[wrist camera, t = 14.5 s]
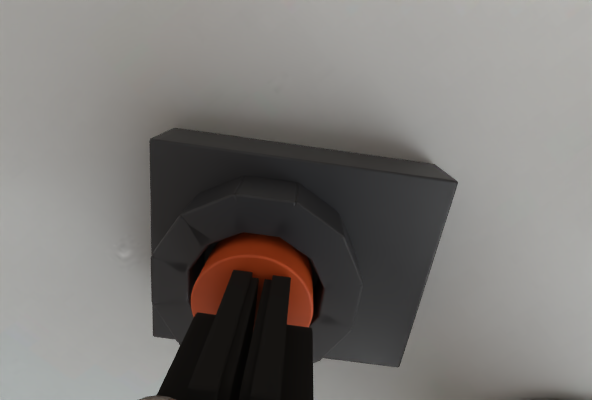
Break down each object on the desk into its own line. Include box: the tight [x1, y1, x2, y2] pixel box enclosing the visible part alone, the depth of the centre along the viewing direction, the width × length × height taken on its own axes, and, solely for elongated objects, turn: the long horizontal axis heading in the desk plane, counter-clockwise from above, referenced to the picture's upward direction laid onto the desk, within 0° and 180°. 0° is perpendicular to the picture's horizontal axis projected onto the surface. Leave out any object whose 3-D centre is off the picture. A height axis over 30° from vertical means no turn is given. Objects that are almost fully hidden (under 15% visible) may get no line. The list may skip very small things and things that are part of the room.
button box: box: [150, 128, 458, 367], centre depth 13 cm, size 10×8×4 cm
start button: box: [191, 232, 313, 330], centre depth 11 cm, size 4×4×2 cm
